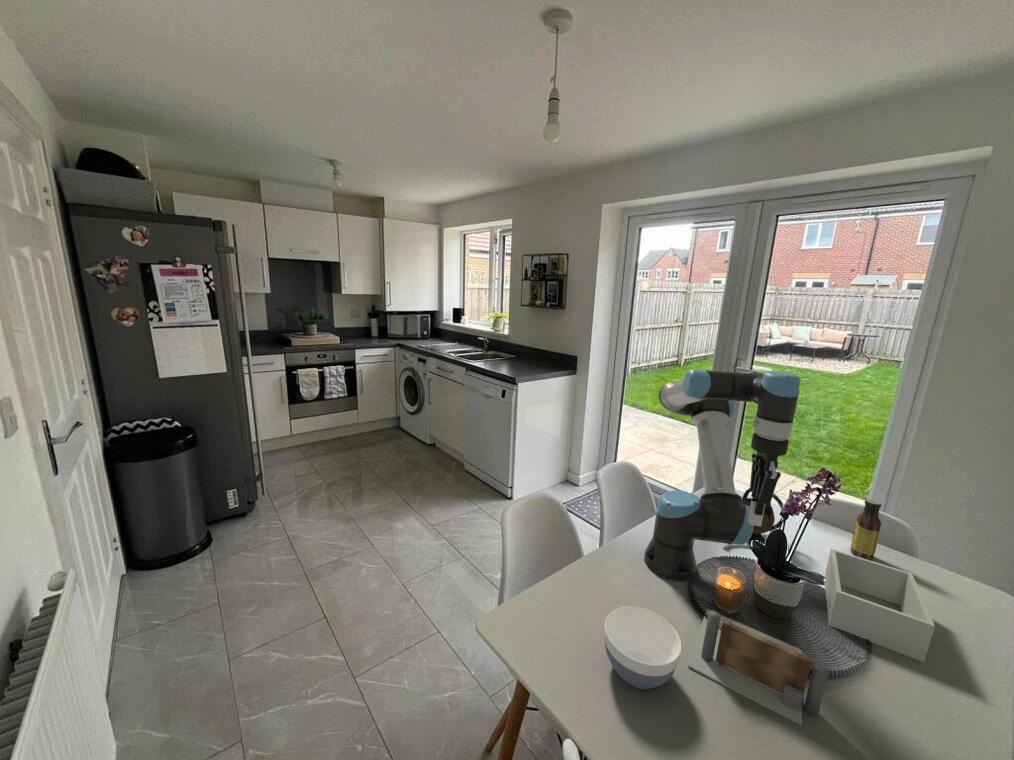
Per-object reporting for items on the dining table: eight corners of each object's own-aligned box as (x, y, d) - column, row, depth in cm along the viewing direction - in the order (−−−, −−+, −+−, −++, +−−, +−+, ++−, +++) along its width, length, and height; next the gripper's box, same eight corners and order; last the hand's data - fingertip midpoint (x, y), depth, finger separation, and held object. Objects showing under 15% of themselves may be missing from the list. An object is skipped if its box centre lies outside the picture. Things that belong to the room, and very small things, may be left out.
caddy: (828, 625, 107) (836, 591, 105) (824, 577, 126) (830, 548, 124) (924, 662, 97) (934, 626, 95) (903, 604, 116) (911, 573, 114)
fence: (688, 667, 92) (695, 621, 90) (706, 610, 110) (712, 570, 108) (819, 734, 79) (832, 683, 77) (815, 657, 97) (825, 613, 94)
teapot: (784, 543, 144) (797, 482, 139) (728, 553, 136) (739, 488, 132) (755, 525, 155) (765, 468, 150) (701, 533, 147) (711, 473, 143)
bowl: (667, 720, 80) (674, 680, 78) (590, 678, 88) (594, 640, 86) (681, 662, 93) (687, 626, 91) (613, 630, 101) (617, 596, 100)
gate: (715, 661, 93) (722, 621, 91) (716, 656, 94) (723, 617, 92) (801, 704, 84) (811, 661, 81) (801, 698, 85) (811, 656, 83)
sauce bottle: (858, 548, 143) (871, 496, 139) (878, 559, 137) (892, 505, 133) (844, 550, 142) (857, 497, 138) (863, 561, 136) (877, 506, 132)
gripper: (746, 426, 107) (731, 509, 111) (762, 442, 94) (745, 534, 99) (778, 429, 105) (762, 514, 109) (799, 446, 92) (780, 541, 97)
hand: (754, 523), depth 104 cm, fingers closed
